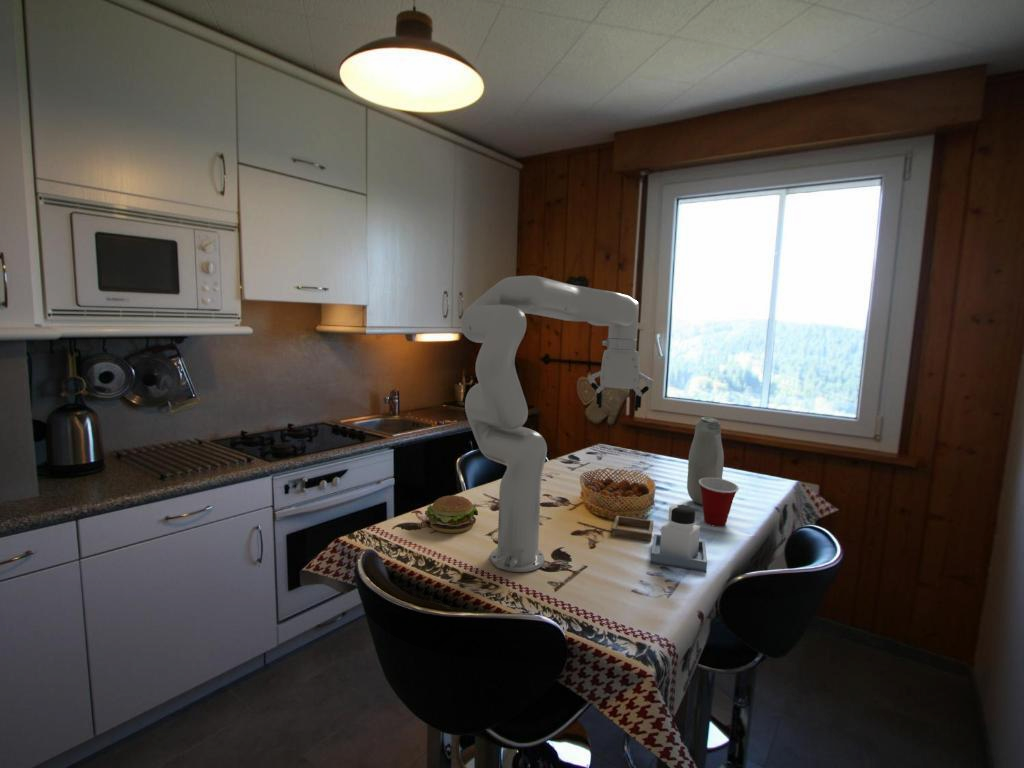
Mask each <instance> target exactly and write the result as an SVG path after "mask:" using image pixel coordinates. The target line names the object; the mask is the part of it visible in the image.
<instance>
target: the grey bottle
mask: <svg viewBox="0 0 1024 768" xmlns="http://www.w3.org/2000/svg"><path fill="white" fill-rule="evenodd" d="M721 429H722V427H721V424H720V422H719V420H717V419H716V418H714V417H709V416H703V417H700V418H699V419H698V420H697V422H696V424H695V429H694V434H693V435H694V436H693V439H692V442H691V445H690V449H689V453H688V460H687V461H688V462H687V463H688V464H687V481H686V489H687V493H688V496H689V497H690V499H691V500H692V501H693V502H694V503H696V504H699V505H702V506H703V504H702V493H701V487H700V484H699V480H700V479H701V478H719V479H723V472H724V461H725V460H724V459H725V456H724V455H725V454H724V448H723V443H722V442H723V441H722V436H721V435H722V434H721V433H722V432H721Z"/></svg>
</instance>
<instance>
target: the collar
mask: <svg viewBox="0 0 1024 768" xmlns="http://www.w3.org/2000/svg"><path fill="white" fill-rule="evenodd" d="M613 522H614V523H613V524H612V527H611V536H613V537H620V538H625V539H631V540H638V541H645V542H652V536H653V529H654V520H650V519H644V518H636V517H630V516H623V515H615V519H614V521H613ZM619 525H626V526H631V527H639V528H646V529H648V532H646V531H641V530H634V529H626V528H620V527H619Z"/></svg>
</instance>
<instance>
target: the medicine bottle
mask: <svg viewBox="0 0 1024 768" xmlns="http://www.w3.org/2000/svg"><path fill="white" fill-rule="evenodd" d="M668 509H669V510H668V520H667V521H668V522H666V523H665V524H663V525H662V526H661V530H660V531H661V532H660V535H661V542H660V553H662V554H668V555H674V556H680V557H686V558H693V557H694V556H695V555H697V554H698V548H699V541H700V534H701V526H700V525H698V524H695V519H696V510H695V508H694V507H692V506H690V505H687V504H682V503H677V504H672V505H671V506H669V508H668Z"/></svg>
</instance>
